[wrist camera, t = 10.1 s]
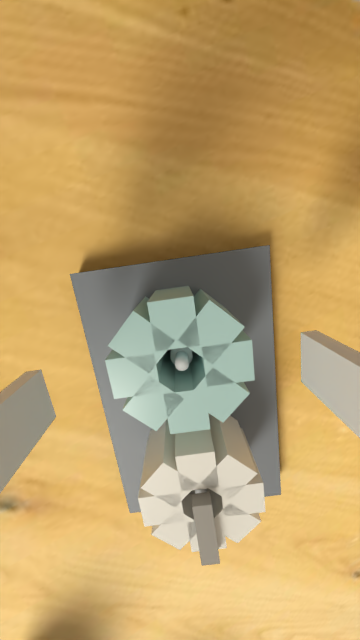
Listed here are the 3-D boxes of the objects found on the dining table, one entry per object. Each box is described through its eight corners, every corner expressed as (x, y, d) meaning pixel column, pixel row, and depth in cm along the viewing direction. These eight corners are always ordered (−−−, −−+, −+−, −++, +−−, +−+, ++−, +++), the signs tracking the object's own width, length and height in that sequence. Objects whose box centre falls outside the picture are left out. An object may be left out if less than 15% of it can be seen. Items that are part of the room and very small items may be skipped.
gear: (141, 411, 19) (126, 474, 14) (239, 398, 19) (265, 456, 13) (157, 488, 21) (150, 571, 16) (246, 477, 21) (272, 557, 15)
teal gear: (137, 394, 19) (123, 440, 14) (116, 295, 17) (93, 310, 12) (236, 381, 19) (257, 422, 14) (227, 280, 17) (248, 287, 12)
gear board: (78, 273, 18) (35, 278, 13) (262, 246, 18) (300, 240, 12) (132, 497, 23) (119, 570, 18) (274, 479, 23) (304, 548, 18)
